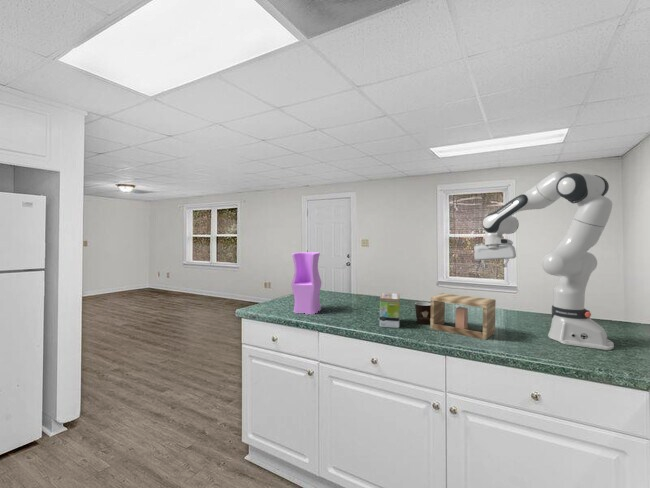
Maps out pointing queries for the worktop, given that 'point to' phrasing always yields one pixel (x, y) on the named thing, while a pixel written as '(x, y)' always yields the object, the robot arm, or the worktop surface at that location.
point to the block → (461, 318)
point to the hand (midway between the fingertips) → (495, 267)
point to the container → (306, 282)
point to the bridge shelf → (486, 304)
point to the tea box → (389, 310)
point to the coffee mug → (423, 312)
